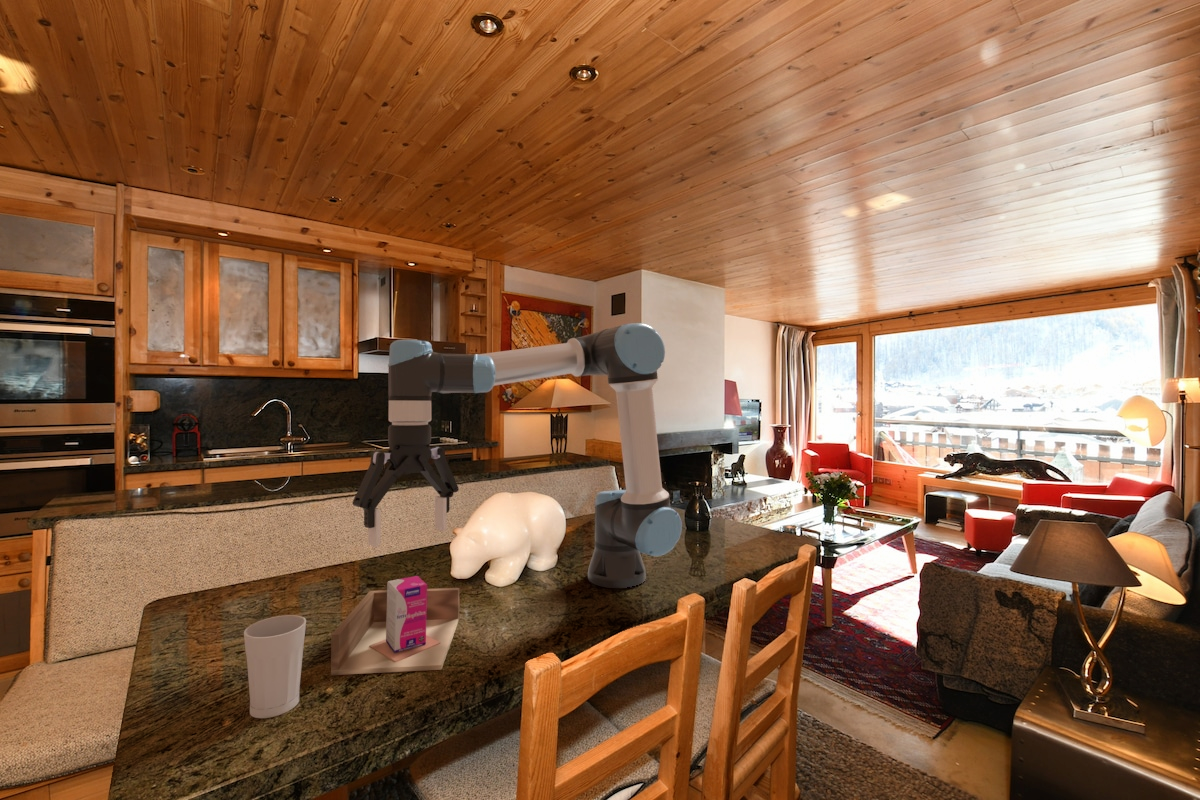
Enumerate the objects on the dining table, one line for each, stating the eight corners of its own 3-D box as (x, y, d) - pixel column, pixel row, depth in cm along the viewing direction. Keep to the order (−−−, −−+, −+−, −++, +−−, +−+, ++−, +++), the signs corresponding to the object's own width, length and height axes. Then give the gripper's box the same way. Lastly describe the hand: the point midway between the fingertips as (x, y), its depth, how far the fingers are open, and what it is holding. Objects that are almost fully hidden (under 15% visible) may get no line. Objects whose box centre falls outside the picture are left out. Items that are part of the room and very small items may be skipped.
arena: (459, 620, 108) (459, 587, 108) (441, 669, 88) (441, 630, 88) (369, 623, 106) (369, 590, 106) (330, 675, 86) (331, 634, 86)
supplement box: (394, 654, 91) (395, 590, 91) (385, 641, 96) (386, 580, 96) (427, 645, 95) (427, 583, 95) (416, 633, 100) (417, 574, 100)
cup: (228, 718, 74) (229, 635, 74) (272, 688, 82) (273, 613, 82) (277, 724, 73) (278, 640, 73) (317, 693, 81) (318, 616, 81)
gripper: (453, 421, 108) (453, 521, 108) (332, 425, 88) (331, 548, 88) (476, 422, 103) (475, 527, 103) (353, 426, 84) (352, 557, 84)
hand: (409, 537), depth 96 cm, fingers open, 13 cm apart
